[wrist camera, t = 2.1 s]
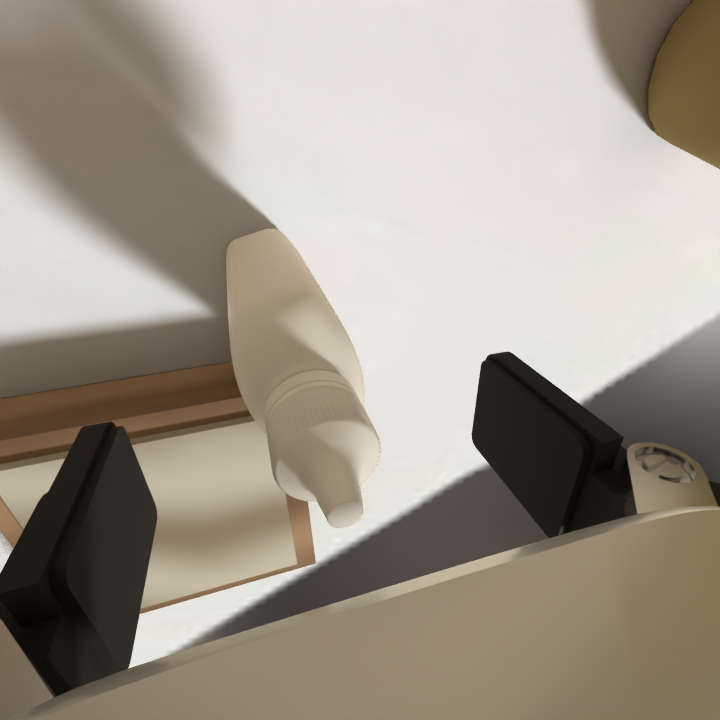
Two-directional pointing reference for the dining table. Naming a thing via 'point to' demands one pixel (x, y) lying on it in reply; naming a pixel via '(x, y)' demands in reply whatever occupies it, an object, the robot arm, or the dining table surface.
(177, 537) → the picture frame
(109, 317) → the dining table surface
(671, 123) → the squeeze bottle
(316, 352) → the eye dropper bottle
